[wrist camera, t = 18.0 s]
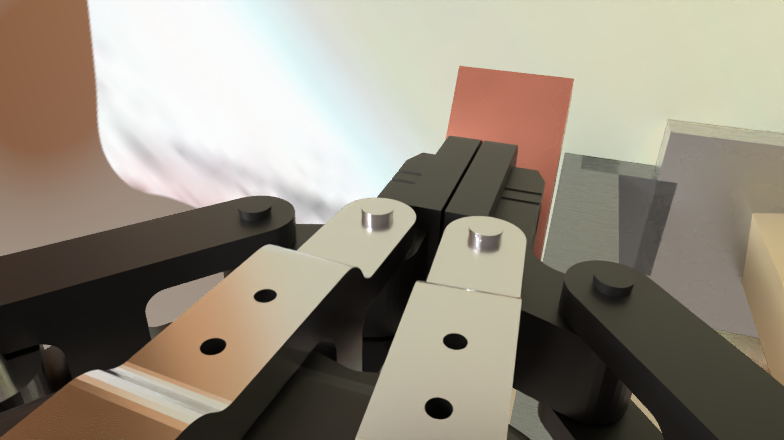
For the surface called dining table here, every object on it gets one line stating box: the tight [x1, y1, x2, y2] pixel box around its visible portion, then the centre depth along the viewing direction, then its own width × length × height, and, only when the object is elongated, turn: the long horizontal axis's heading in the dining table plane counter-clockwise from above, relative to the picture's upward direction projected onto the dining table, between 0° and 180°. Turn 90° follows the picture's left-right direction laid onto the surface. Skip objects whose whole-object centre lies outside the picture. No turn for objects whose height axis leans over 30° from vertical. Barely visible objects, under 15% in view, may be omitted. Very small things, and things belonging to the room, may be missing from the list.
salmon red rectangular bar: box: [446, 66, 574, 261], centre depth 17 cm, size 3×15×3 cm, turn 178°
